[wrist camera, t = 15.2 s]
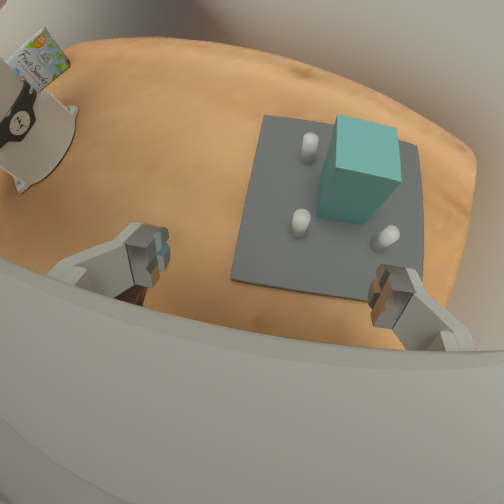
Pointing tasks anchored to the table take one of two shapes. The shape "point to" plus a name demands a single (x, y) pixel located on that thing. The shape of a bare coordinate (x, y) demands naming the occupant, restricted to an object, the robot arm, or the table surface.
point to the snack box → (39, 60)
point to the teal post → (358, 170)
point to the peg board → (320, 219)
